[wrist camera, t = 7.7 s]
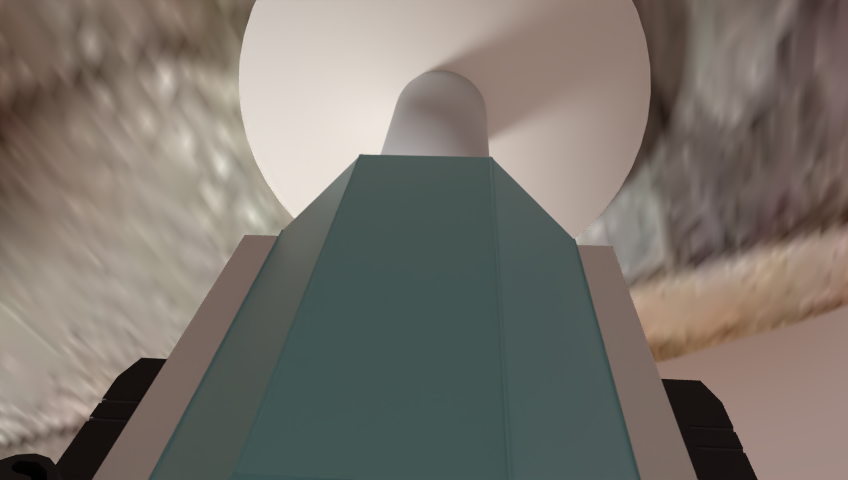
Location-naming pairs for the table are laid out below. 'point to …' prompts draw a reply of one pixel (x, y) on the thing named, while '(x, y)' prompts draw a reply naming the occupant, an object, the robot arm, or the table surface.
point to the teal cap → (411, 342)
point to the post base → (493, 41)
